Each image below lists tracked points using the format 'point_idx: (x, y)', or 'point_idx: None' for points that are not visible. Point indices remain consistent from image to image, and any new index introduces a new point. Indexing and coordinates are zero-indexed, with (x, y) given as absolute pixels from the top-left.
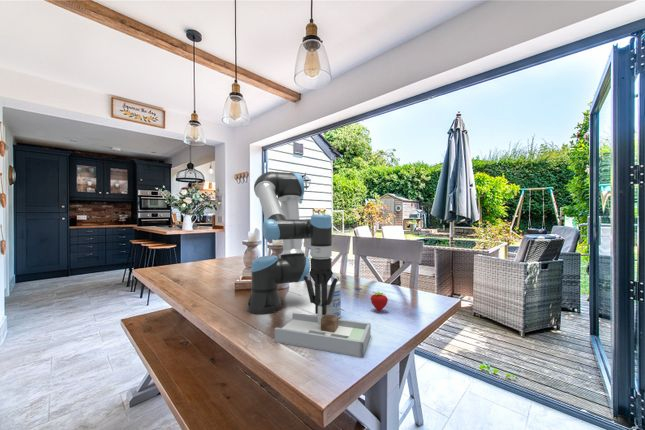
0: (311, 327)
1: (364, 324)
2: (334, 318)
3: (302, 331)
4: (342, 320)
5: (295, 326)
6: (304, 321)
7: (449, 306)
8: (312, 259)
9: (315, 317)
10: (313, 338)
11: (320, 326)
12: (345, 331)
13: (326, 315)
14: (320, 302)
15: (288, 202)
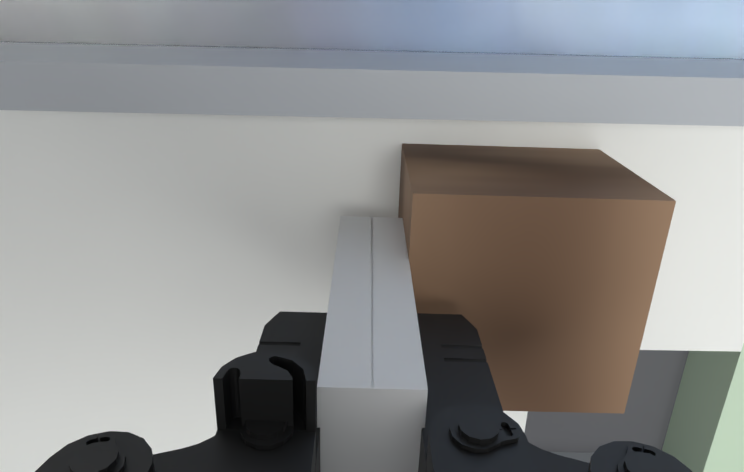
0: (250, 272)
1: None
2: (613, 328)
3: (199, 393)
4: (697, 114)
5: (47, 303)
6: (62, 119)
7: None
8: None
9: (212, 113)
10: None
11: (353, 213)
12: (701, 255)
13: (451, 252)
14: (304, 363)
15: None
